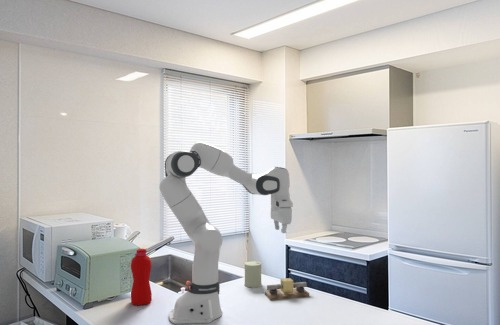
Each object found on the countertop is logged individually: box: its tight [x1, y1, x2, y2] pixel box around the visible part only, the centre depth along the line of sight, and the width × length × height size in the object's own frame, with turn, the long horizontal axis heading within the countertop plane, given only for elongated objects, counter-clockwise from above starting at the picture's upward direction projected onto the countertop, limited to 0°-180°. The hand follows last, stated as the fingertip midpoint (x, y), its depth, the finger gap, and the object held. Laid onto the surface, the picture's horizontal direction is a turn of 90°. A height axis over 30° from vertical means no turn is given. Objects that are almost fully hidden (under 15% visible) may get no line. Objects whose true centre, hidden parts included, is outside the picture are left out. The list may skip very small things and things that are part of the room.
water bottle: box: [126, 248, 153, 306], centre depth 180 cm, size 9×11×25 cm
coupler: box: [280, 277, 294, 294], centre depth 189 cm, size 5×4×6 cm
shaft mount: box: [264, 281, 310, 301], centre depth 189 cm, size 20×9×6 cm, turn 104°
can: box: [243, 260, 263, 289], centre depth 205 cm, size 9×9×12 cm
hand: (280, 231), depth 180 cm, fingers open, 8 cm apart
